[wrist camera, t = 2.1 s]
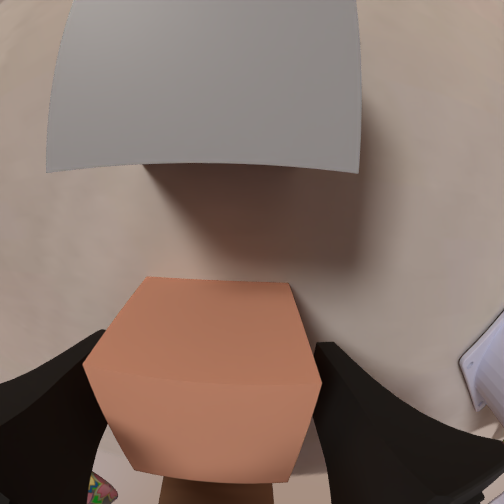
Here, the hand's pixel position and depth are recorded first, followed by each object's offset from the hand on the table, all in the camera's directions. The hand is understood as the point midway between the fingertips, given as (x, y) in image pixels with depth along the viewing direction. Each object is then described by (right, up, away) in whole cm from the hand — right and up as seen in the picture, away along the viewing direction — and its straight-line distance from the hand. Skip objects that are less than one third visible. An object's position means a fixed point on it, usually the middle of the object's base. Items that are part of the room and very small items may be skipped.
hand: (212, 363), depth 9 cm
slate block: (0, +9, -1) cm, 9 cm away
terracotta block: (0, +1, +1) cm, 2 cm away
